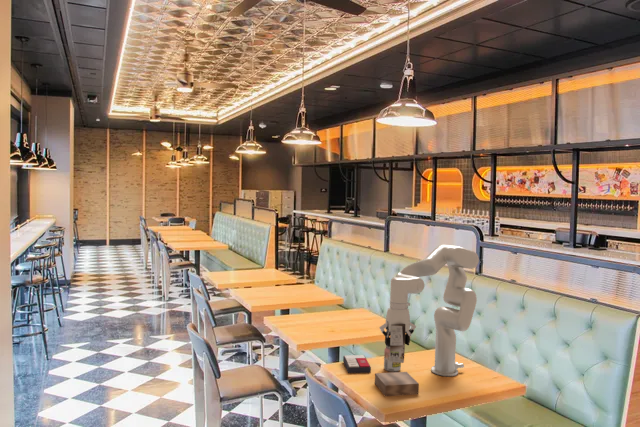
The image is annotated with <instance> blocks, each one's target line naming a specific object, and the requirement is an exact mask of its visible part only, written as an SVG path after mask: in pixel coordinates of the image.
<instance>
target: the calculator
mask: <svg viewBox="0 0 640 427" xmlns="http://www.w3.org/2000/svg"><path fill="white" fill-rule="evenodd" d="M342 358H343V360H342V361H343V362H344V363H343V362H342V363H343V365H344V366H345V369H346V372H347V374H362V373H363V374H367V373H371V371H372V367H371V365H370V362H369V361H368V359H367V358H366V356H365V355H364V354H354V355H353V354H352V355H351V354H350V355H345V354H344V355H343V357H342Z"/></svg>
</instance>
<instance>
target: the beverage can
mask: <svg viewBox="0 0 640 427" xmlns="http://www.w3.org/2000/svg"><path fill="white" fill-rule="evenodd" d="M383 354H384V355H383V368H384V370H385V371H386V372H388V373H393V372H400V370H401V366H402V363H399V362H390V347H388V346H387V345H386V344H385V348H384V351H383Z"/></svg>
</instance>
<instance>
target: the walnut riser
mask: <svg viewBox="0 0 640 427" xmlns="http://www.w3.org/2000/svg"><path fill="white" fill-rule="evenodd" d="M374 385H375V386H376V387H377V389H378V390H379V391H380V392H381V393H382V395H384V397H396V396H397V397H398V396H413V395H419V393H420V392H419V391H420V383H419V382H418V381H417V380H416V379H415V378H414V377H413V376H411V375H410V373H408V371H398V372H377V373H376V372H375V373H374Z"/></svg>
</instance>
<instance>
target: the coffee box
mask: <svg viewBox="0 0 640 427" xmlns="http://www.w3.org/2000/svg"><path fill="white" fill-rule="evenodd" d="M405 334H406V333H405V324H397V325H391V333H390V336H389V337H390V362H399V363H401V364H403V363H405V349H406V348H405V347H406V344H405Z"/></svg>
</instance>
